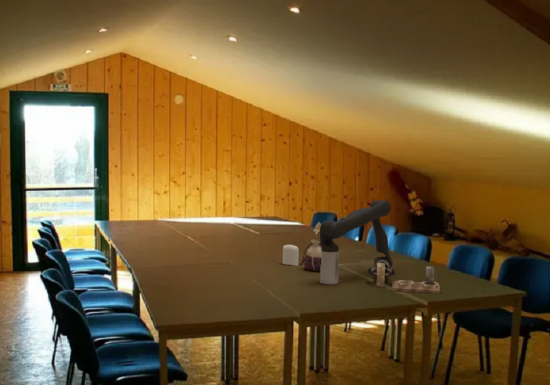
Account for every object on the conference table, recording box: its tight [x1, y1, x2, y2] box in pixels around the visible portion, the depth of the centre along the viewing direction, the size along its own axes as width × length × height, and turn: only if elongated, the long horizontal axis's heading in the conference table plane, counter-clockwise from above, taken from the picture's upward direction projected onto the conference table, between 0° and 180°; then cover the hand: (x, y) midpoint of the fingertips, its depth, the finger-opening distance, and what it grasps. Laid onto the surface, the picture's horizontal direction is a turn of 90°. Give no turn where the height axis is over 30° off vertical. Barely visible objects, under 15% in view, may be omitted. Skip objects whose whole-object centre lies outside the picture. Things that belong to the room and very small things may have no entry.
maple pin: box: [376, 263, 386, 288], centre depth 323 cm, size 4×4×12 cm
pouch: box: [298, 238, 322, 273], centre depth 362 cm, size 25×8×19 cm, turn 52°
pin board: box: [391, 266, 441, 295], centre depth 319 cm, size 24×18×12 cm
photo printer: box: [282, 244, 300, 267], centre depth 380 cm, size 10×4×12 cm, turn 60°
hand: (380, 273), depth 323 cm, fingers open, 8 cm apart
